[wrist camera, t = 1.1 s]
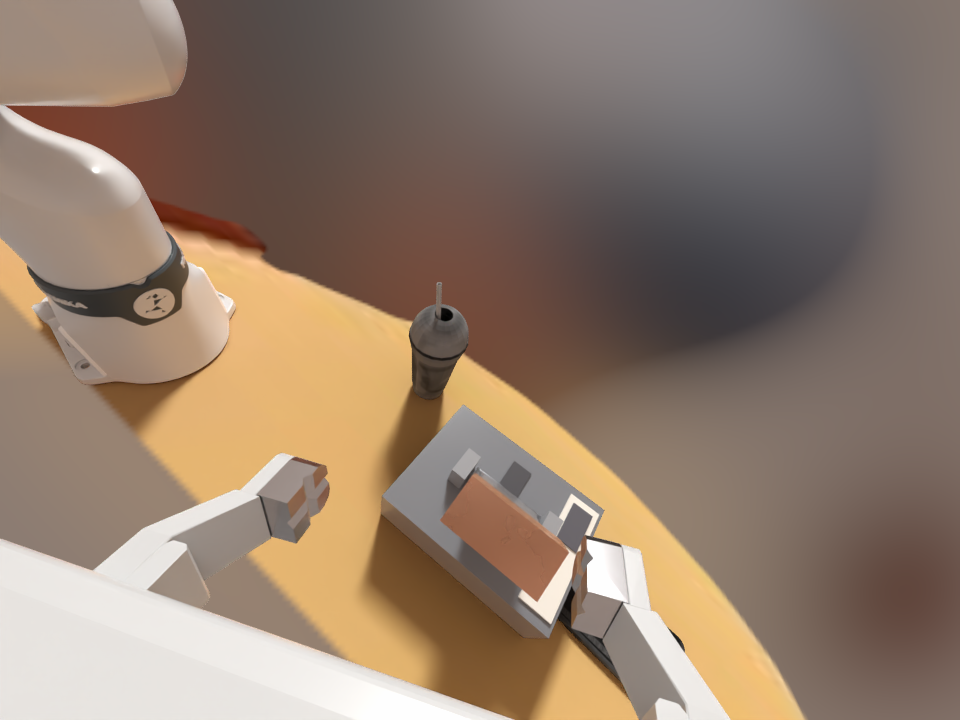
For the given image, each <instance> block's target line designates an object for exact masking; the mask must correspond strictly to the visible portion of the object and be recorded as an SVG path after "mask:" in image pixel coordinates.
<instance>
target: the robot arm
mask: <svg viewBox="0 0 960 720" xmlns="http://www.w3.org/2000/svg"><path fill="white" fill-rule="evenodd" d="M186 65H187V44H186V38H185V33H184V29H183V26H182V22H181V19H180V17H179V14H178V11H177V9H176V7H175V5H174V3H173V0H0V238H1V239H2V240H3V241H4V242H5V243H6V244H7V245H8V246H9V247H10V248H11V249H12V250H13V251H14V252H15V253H16V254H17V255H18V256H19V257H20V258H21V259H22V260H23V261H24V262H25V263H26V264H27V269H28V272H29V274H30V275H31V277H32V278H33V279H34V282H35V283H36V285H37V286H38V287H39V288H40V289H41V291H42V292H43V293H44V294H46V296H47V297H45V298H44V299H43V300H42V301H41V303H38V304H35V305H33V306H32V309H33V310H34V312H35V313H36V314H37V315H38V317H39V318H40V319H41V320H42V321H43V322H45V323H47V324H48V325H49V326H50V327H51V329H52V331H53V333H54V335H55V337H56V339H57V341H58V343H59V345H60V347H61V349H62V351H63V353H64V355H65V357H66V359H67V361H68V363H69V365H70V367H71V369H72V371H73V373H74V375H75V377H76V378H77V379H78V380H79V381H80V382H81V383H82V384H87V385H91V384H101V383H107V382H113V381H120V382H129V383H140V384H148V383H159V382H165V381H170V380H174V379H178V378H181V377H184V376H186V375H189V374H191V373H193V372H195V371H197V370H199V369H201V368H202V367H204V366H205V365H207V364H208V363H209V362H211V361H212V360H213V359H214V358H215V357H216V356H217V355H218V354H219V353H220V352H221V351H222V349H223V348H224V346H225V344H226V342H227V340H228V336H229V319H230V318H231V316H232V314H233V313H234V311H235V308H236V305H235V303H234V301H233V300H232V299H231V298H229V297H227V296H226V295H224V294H222V293H220V292H218V291H216V290H215V288H214V286H213V285H212V283H211V281H210V279H209V277H208V276H207V274H206V272H205V271H204V270H203V269H202V268H201V267H197V266H195V265H194V264H192V263H190V262H187V261H186V260H185V257H184V254H183V252H182V250H181V248H180V247H179V245H178V244H177V243H176V242H175V240H174V238H173V237H172V236H171V235H170V234H169V233H168V232H167V231H165V230H164V228H163V226H162V224H161V222H160V220H159V218H158V216H157V214H156V212H155V210H154V208H153V206H152V204H151V202H150V201H149V199H148V197H147V195H146V193H145V191H144V189H143V187H142V185H141V183H140V181H139V180H138V178H137V177H136V176H135V175H134V174H133V173H132V172H131V171H130V170H129V169H128V168H127V167H126V166H124V165H123V164H122V163H120V162H119V161H118V160H117V159H115V158H114V157H112V156H111V155H109V154H108V153H106V152H104V151H103V150H101V149H99V148H97V147H95V146H93V145H90V144H88V143H85V142H82V141H79V140H77V139H74V138H71V137H68V136H65V135H61V134H59V133H56V132H53V131H50V130H48V129H45V128H43V127H40V126H38V125H36V124H34V123H32V122H30V121H28V120H26V119H25V118H23V117H21V116H20V115H18V114H16V113H15V112H13V111H12V110H10V109H8V108H7V107H5V106H4V105H31V106H35V105H36V106H107V107H108V106H109V107H111V106H118V105H124V104H129V103H135V102H142V101H147V100H152V99H156V98H161V97H166V96H170V95H174V94H175V93H176V91H177V90H178V89H179V87H180V85H181V83H182V81H183V78H184V75H185V71H186ZM88 366H89V367H88ZM86 367H88V368H86ZM326 475H327V468H326V466H325V465H322V464H318V463H315V462H312V461H308V460H305V459H302V458H298V457H295V456H291V455H288V454H284V453H280V454H278V455H276V456H275V457H274V458H273V459H272V460H271V461H270V462H269V463H268V464H267V465H266V466H265V467H264V468H263V469H261V470H260V471H259V472H258V473H257V474H256V475H255V476H254V477H253V478H252V479H251V480H250V481H249V482H248V483H247V484H246V485H245V486H244V487H243V488H242V489H241V490H236V489H235V490H233V491H231V492H228V493H226V494H224V495H221V496H219V497H216V498H214V499H212V500H209V501H207V502H205V503H202V504H200V505H197V506H195V507H193V508H190V509H188V510H186V511H183V512H181V513H179V514H176V515H174V516H171V517H169V518H167V519H164V520H162V521H159V522H157V523H155V524H152V525H150V526H148V527H146V528H143V529H142V530H141V531H140V532H138V533H137V534H136V535H135V536H134V537H133V538H131V539H130V540H129V541H128V542H126V543H125V544H124V545H123V546H122V547H120V548H119V549H118V550H117V551H116V552H115V553H113V554H112V555H111V556H110V557H109V558H107V559H106V560H105V561H104V562H103V563H101V564H100V565H99V566H98V567H97V568H96V569H94V570H93V571H92V570H89V569H86V568H83V567H80V566H77V565H75V564H72V563H69V562H66V561H64V560H61V559H58V558H55V557H52V556H49V555H46V554H43V553H40V552H37V551H35V550H32V549H29V548H26V547H24V546H20V545H18V544H15V543H12V542H9V541H6V540H4V539H1V538H0V720H514V719H511V718H508V717H506V716H503V715H500V714H497V713H494V712H491V711H489V710H486V709H483V708H480V707H477V706H474V705H472V704H469V703H466V702H463V701H460V700H457V699H455V698H452V697H449V696H446V695H443V694H440V693H438V692H435V691H432V690H429V689H426V688H423V687H421V686H418V685H415V684H412V683H409V682H406V681H404V680H401V679H398V678H395V677H392V676H390V675H387V674H384V673H381V672H378V671H375V670H373V669H370V668H367V667H364V666H361V665H358V664H356V663H353V662H350V661H347V660H344V659H341V658H339V657H336V656H333V655H330V654H327V653H324V652H322V651H318V650H316V649H313V648H310V647H307V646H304V645H302V644H299V643H296V642H293V641H290V640H287V639H284V638H282V637H279V636H276V635H273V634H271V633H268V632H265V631H262V630H259V629H256V628H254V627H251V626H248V625H245V624H242V623H239V622H236V621H234V620H231V619H228V618H225V617H222V616H219V615H217V614H214V613H211V612H208V611H205V610H202V608H203V607H204V605H205V604H206V603H207V602H208V600H209V599H210V593H209V591H208V589H207V586H206V584H205V582H204V580H206V579H207V578H209V577H211V576H212V575H214V574H215V573H217V572H219V571H220V570H222V569H223V568H225V567H226V566H228V565H230V564H231V563H233V562H234V561H236V560H238V559H239V558H241V557H242V556H244V555H245V554H247V553H249V552H250V551H252V550H253V549H255V548H256V547H258V546H260V545H261V544H263V543H264V542H266V541H267V540H269V539H271V537H275V538H278V539H282V540H286V541H289V542H293V543H297V542H298V541H299V539H300V538H301V537H302V535H303V534H304V533H305V531H306V530H307V529H308V527H309V526H310V517H312V516H314V515H316V514H318V513H319V512H320V511H321V509H322V508H323V507H324V505H325V503H326V501H327V498H328V496H329V490H330V487H329V483H328V481H327V480H326V479H325V478H324V477H325V476H326ZM572 588H573V589H574V591H575V595H574V598H573V600H572V604H571V628H572V629H575V630H578V631H581V632H584V633H587V634H590V635H593V636H596V637H599V638H602V639H603V643H604V645H605V647H606V649H607V651H608V654H609V656H610V658H611V660H612V662H613V664H614V667H615V669H616V671H617V673H618V675H619V677H620V680H621V682H622V684H623V686H624V688H625V690H626V693H627V695H628V697H629V699H630V701H631V703H632V706H633V708H634V710H635V712H636V714H637V716H638V718H639V720H730V718H729V717H728V715H727V714H726V712H725V711H724V709H723V708H722V706H721V705H720V704H719V702H718V701H717V699H716V698H715V696H714V695H713V693H712V692H711V690H710V689H709V687H708V686H707V685H706V683H705V682H704V680H703V679H702V677H701V676H700V674H699V673H698V671H697V670H696V669H695V667H694V666H693V664H692V663H691V661H690V660H689V658H688V657H687V655H686V654H685V653H684V651H683V650H682V648H681V647H680V645H679V644H678V642H677V641H676V639H675V638H674V637H673V635H672V634H671V632H670V631H669V629H668V628H667V626H666V625H665V623H664V622H663V621H662V619H661V618H660V616H659V615H658V613H657V612H654V611H651V607H650V601H649V595H648V589H647V583H646V577H645V571H644V565H643V559H642V553H641V552H640V550H639V549H636V548H632V547H628V546H625V545H620V544H619V543H615V542H611V541H607V540H603V539H599V538H595V537H591V536H587V535H585V536H584V537H583V538H582V541H581V551H578V552H577V554H576V557H575V560H574V565H573V571H572Z"/></svg>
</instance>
